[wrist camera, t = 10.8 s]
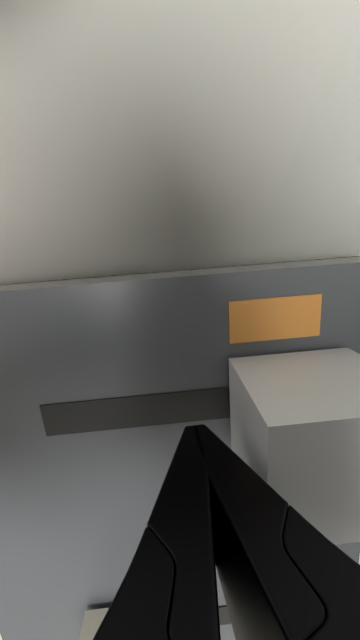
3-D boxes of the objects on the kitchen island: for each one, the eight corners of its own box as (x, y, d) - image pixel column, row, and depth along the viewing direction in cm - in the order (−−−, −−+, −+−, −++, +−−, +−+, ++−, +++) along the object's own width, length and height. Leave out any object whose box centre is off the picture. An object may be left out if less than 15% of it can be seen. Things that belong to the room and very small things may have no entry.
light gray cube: (347, 347, 9) (456, 407, 6) (339, 436, 10) (428, 533, 7) (228, 358, 9) (267, 426, 6) (231, 447, 10) (266, 553, 6)
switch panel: (357, 256, 10) (402, 258, 9) (322, 608, 16) (345, 660, 14) (-70, 290, 10) (-129, 302, 8) (43, 644, 15) (25, 703, 13)
